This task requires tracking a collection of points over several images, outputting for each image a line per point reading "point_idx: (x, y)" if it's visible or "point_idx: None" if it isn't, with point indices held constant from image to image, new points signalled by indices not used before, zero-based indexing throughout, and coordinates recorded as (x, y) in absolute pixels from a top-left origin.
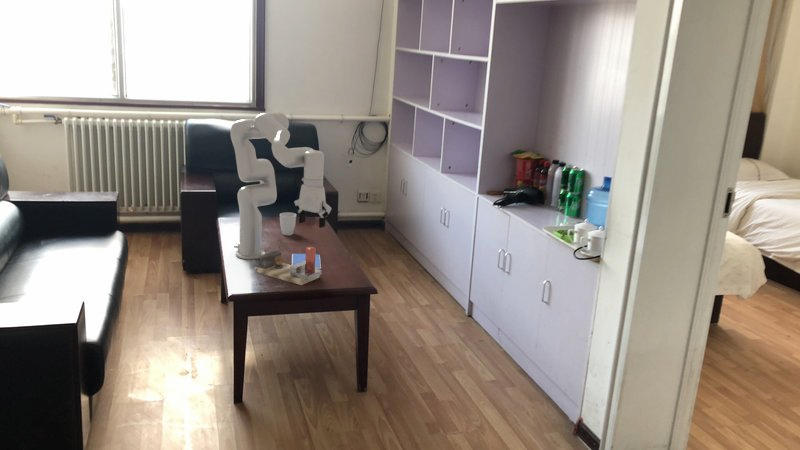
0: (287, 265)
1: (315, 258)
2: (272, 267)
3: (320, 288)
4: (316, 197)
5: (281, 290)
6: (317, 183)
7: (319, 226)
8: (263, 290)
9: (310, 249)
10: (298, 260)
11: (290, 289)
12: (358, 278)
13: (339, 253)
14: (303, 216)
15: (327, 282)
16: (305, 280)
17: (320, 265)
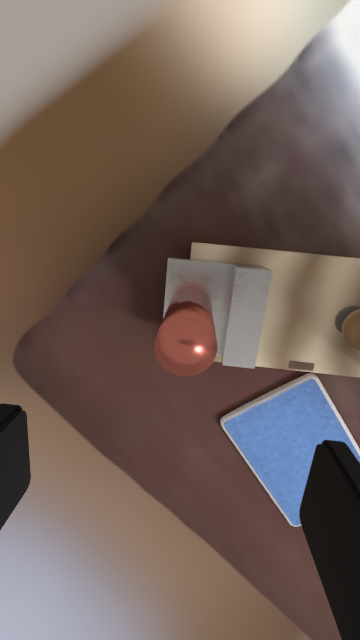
0: (330, 360)
1: (285, 490)
2: None
3: (115, 254)
4: None
5: (228, 140)
6: None
7: (4, 409)
8: (294, 88)
9: (173, 325)
10: None
11: (203, 174)
12: (70, 410)
13: (244, 565)
14: (342, 566)
15: (130, 322)
16: None
17: (234, 442)
